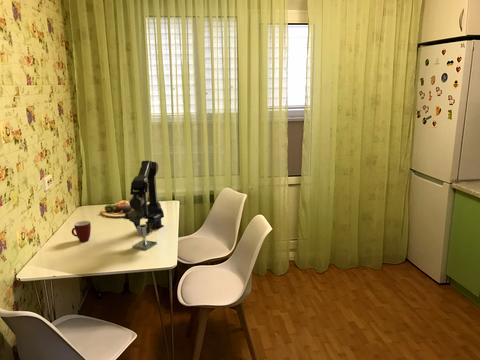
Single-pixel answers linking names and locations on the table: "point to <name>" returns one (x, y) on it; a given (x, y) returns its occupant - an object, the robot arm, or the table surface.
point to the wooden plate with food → (117, 209)
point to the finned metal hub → (144, 244)
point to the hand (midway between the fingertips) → (143, 232)
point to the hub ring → (142, 230)
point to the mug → (82, 230)
